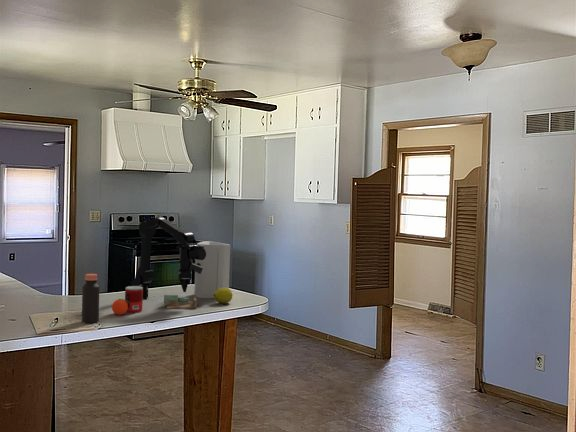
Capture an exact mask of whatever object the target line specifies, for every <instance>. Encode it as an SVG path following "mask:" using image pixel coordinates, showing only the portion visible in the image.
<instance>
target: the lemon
mask: <svg viewBox="0 0 576 432" xmlns="http://www.w3.org/2000/svg"><path fill="white" fill-rule="evenodd" d="M213 296H214V298H213V299H215V301H217V302H218V303H220V304H224V305H225V304H228V303H229V302H231V301H232V299H233V292H232V290H231V289H230V288H229V289H228V288H220V289H218V290H217V291H216V292H215V293H214V295H213Z"/></svg>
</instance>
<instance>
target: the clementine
mask: <svg viewBox="0 0 576 432" xmlns="http://www.w3.org/2000/svg"><path fill="white" fill-rule="evenodd" d="M126 301H127V300H126ZM126 301H125V298H119V299H115V300H114V301H113V303H112V305H111V310H112V312H113V314H115V315H118V316H122V315H124V314H125V313H127V312H126V311H127V309H128V304H129V303H128V304H127V302H128V301H127V302H126Z"/></svg>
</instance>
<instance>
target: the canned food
mask: <svg viewBox="0 0 576 432" xmlns="http://www.w3.org/2000/svg"><path fill="white" fill-rule="evenodd" d="M124 291H125V292H124V299H125V301H126V300H127V301H128V302H127V301H126V302H127V304H128V303H129V304H128V309H127V311H126V312H125V313H127V314H128V313H129V314H130V313H131V314H133V313H134V314H135V312H137V313H141V312H142V311H143V300H144V299H143V287H141V286H130V285H128V286H126V287H125V290H124Z"/></svg>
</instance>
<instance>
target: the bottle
mask: <svg viewBox="0 0 576 432" xmlns="http://www.w3.org/2000/svg"><path fill="white" fill-rule="evenodd" d="M166 301H178V302H188V301H189V297H179V295H178V294H164V295H163V305H166Z"/></svg>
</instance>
